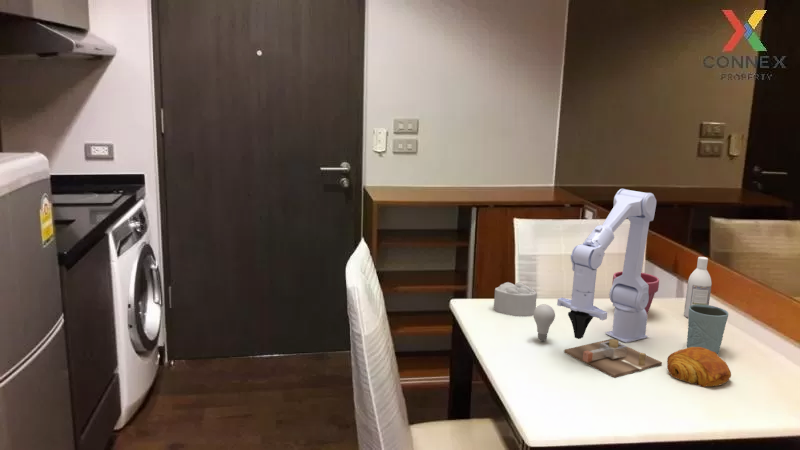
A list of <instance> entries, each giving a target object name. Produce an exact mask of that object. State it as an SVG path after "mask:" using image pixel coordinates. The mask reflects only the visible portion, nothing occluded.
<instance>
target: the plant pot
mask: <svg viewBox="0 0 800 450" xmlns="http://www.w3.org/2000/svg"><path fill="white" fill-rule="evenodd" d="M622 273H623V270H622V271H617V272H614V273H613V277H612V284H611V285H613V281H614V279H615V278H617V277H619V276H621V275H622ZM641 278H642V279H643V280H644V281H645V282H646V283H647V284H648V285H649V287H648V288H649V289H648V294H649V301H648V304H647V306H646V307H645V308H644V309H645V311H646V313H647V315H648V313H649V312H650V309H651V305H652V303H653V300H654V297H655V293H657V292H659V287H660V286H659V285H660V279H659V278H658V277H657V276H655V275H653V274H649V273H646V272H641Z"/></svg>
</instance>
